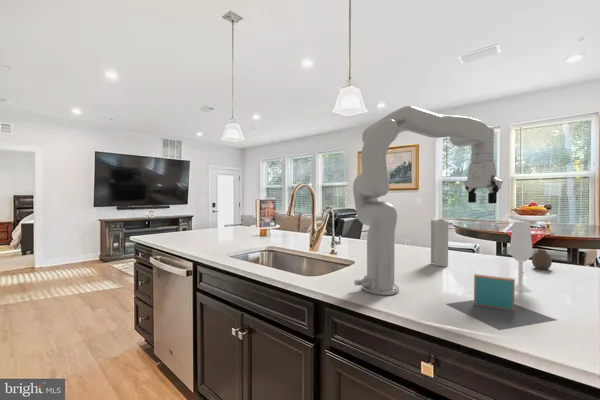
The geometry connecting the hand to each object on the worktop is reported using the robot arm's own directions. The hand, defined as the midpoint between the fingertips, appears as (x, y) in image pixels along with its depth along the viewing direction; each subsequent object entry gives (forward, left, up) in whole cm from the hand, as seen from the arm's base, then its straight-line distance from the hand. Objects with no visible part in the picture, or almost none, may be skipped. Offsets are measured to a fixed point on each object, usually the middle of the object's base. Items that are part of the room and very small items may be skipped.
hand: (481, 202), depth 117 cm
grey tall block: (+2, +24, -31) cm, 39 cm away
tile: (-21, -24, -30) cm, 43 cm away
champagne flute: (+4, -12, -31) cm, 33 cm away
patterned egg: (+40, +6, -31) cm, 51 cm away
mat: (-23, -26, -30) cm, 46 cm away
